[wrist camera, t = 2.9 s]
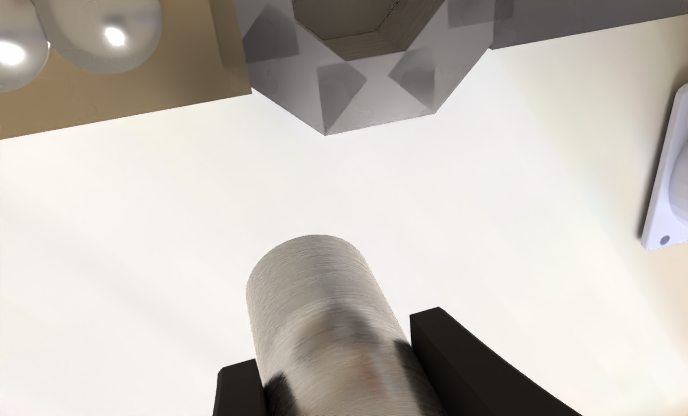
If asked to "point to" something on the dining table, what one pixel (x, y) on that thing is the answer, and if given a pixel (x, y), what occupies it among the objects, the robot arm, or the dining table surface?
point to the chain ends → (264, 56)
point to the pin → (331, 336)
